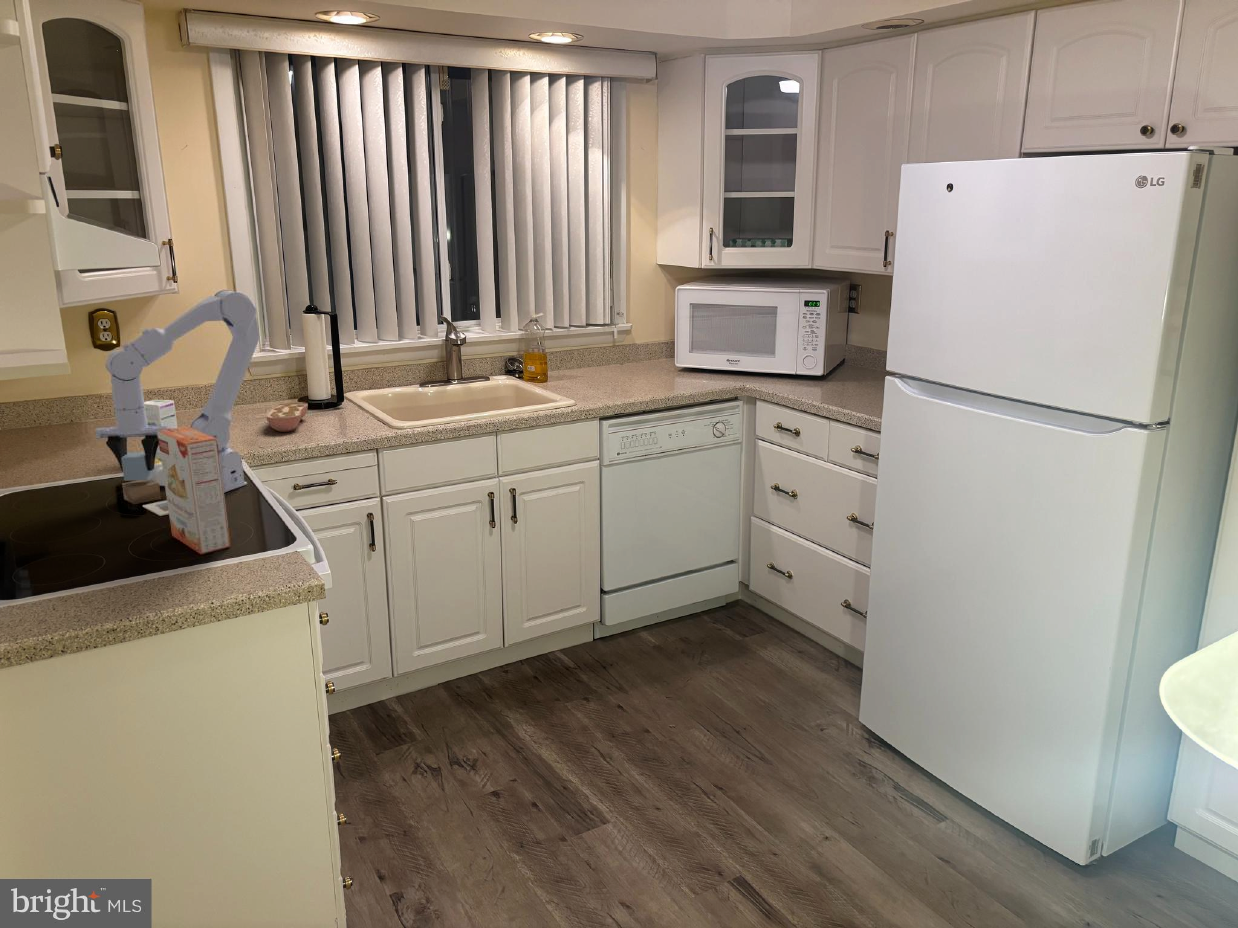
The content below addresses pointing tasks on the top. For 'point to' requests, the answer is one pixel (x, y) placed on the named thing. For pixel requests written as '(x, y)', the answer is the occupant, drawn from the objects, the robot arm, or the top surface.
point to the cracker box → (194, 489)
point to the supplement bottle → (158, 473)
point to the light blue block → (135, 467)
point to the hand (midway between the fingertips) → (138, 470)
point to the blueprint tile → (158, 508)
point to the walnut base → (141, 491)
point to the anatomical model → (286, 415)
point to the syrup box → (160, 415)
